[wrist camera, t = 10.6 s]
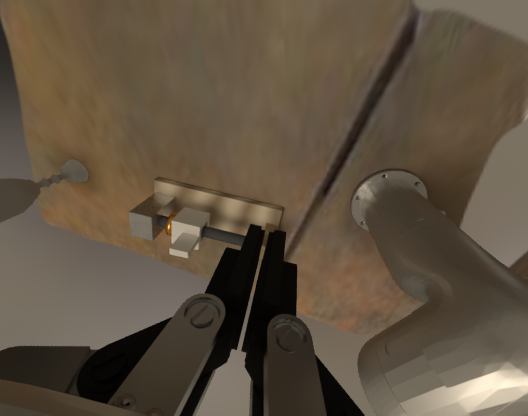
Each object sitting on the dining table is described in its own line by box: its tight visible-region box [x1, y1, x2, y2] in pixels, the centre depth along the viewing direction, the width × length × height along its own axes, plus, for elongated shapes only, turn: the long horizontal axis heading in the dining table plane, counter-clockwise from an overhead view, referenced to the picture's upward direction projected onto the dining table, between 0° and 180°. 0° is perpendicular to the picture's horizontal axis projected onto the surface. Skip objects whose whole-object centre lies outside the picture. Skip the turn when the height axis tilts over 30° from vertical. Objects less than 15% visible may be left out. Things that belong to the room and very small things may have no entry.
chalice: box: [0, 159, 89, 222], centre depth 41 cm, size 7×7×18 cm
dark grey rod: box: [158, 215, 246, 246], centre depth 42 cm, size 21×2×2 cm, turn 79°
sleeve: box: [170, 207, 210, 258], centre depth 40 cm, size 5×5×10 cm
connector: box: [129, 192, 178, 241], centre depth 44 cm, size 7×5×8 cm
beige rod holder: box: [154, 178, 283, 259], centre depth 44 cm, size 26×10×9 cm, turn 79°
